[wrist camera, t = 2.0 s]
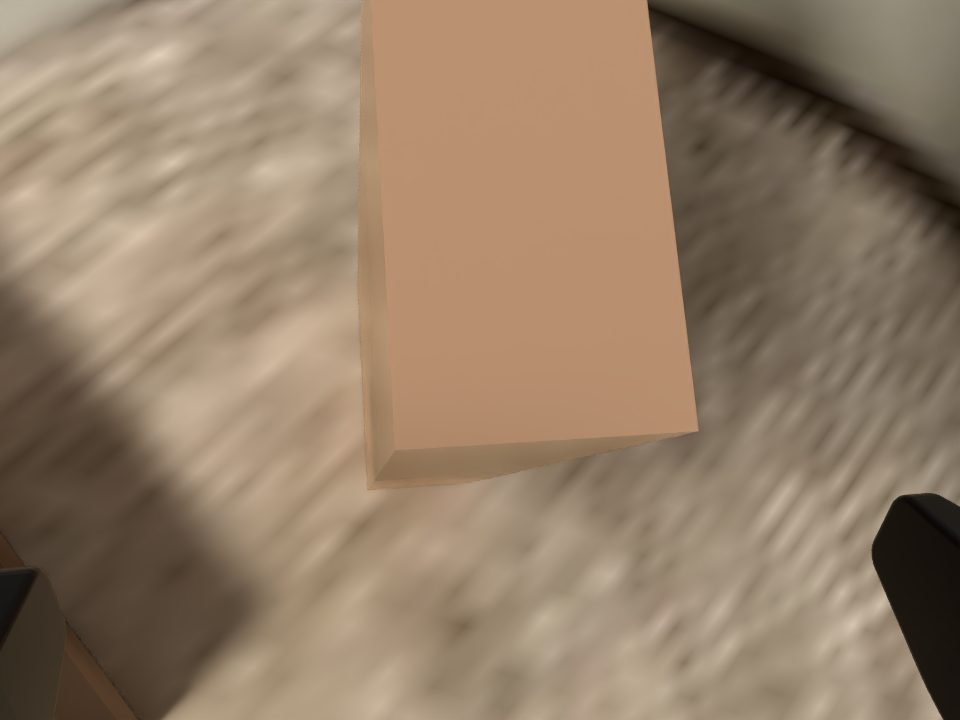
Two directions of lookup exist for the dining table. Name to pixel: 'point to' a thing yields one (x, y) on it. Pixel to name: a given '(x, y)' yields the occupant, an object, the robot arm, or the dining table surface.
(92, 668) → the tan u-shaped channel
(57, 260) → the dining table surface
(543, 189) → the clay block
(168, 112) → the dining table surface
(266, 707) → the dining table surface
